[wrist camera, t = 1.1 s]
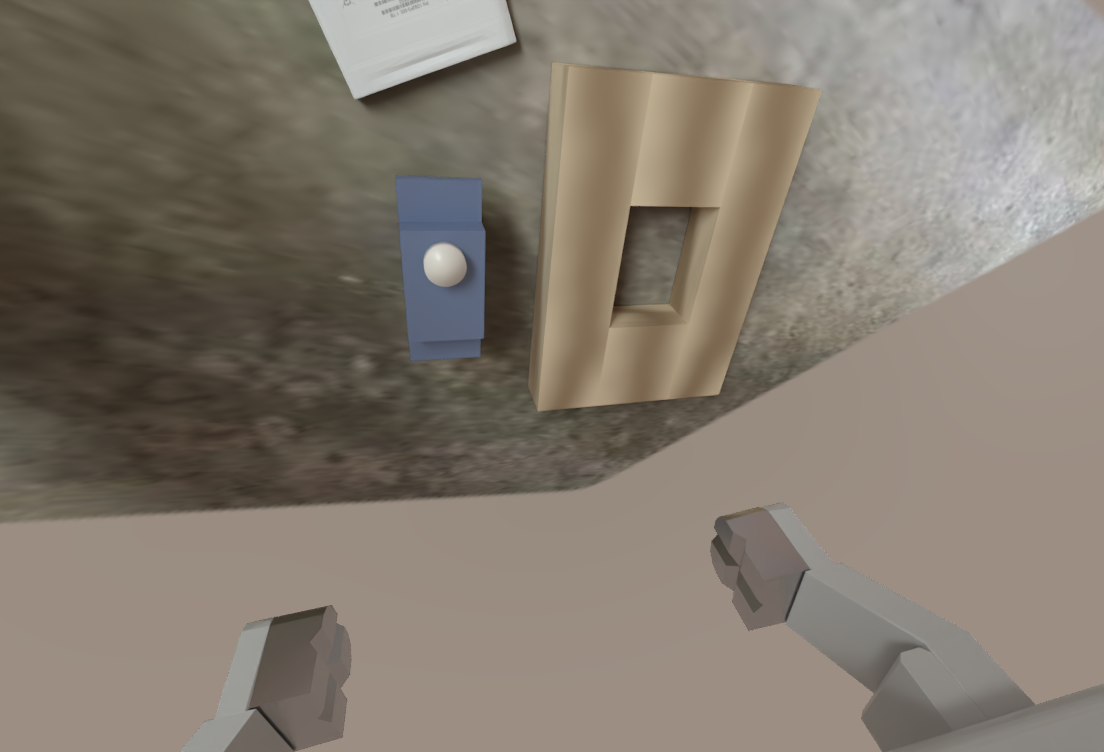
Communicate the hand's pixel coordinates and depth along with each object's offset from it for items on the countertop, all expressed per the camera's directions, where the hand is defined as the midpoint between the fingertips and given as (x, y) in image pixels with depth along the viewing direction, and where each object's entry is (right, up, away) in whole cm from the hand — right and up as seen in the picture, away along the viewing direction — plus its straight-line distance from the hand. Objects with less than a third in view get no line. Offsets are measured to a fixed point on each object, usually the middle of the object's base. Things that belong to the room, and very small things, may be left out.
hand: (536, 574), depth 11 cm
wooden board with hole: (+6, +12, +22) cm, 26 cm away
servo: (-6, +11, +19) cm, 23 cm away
